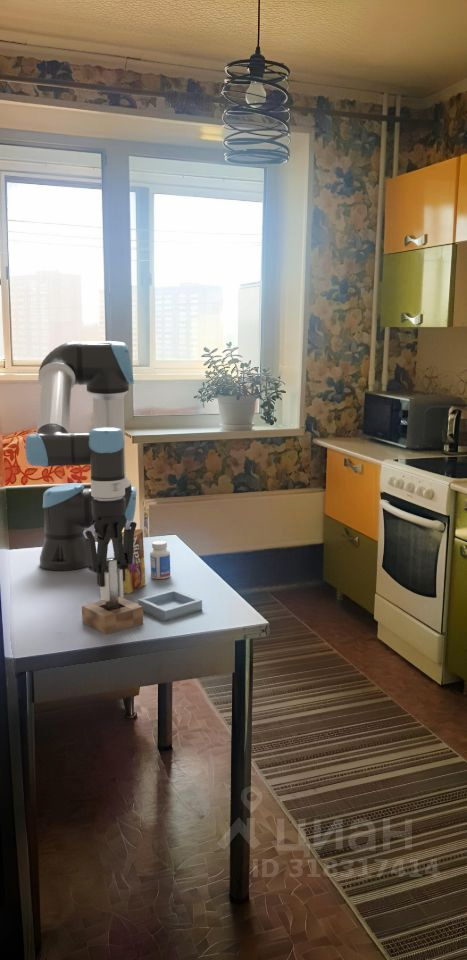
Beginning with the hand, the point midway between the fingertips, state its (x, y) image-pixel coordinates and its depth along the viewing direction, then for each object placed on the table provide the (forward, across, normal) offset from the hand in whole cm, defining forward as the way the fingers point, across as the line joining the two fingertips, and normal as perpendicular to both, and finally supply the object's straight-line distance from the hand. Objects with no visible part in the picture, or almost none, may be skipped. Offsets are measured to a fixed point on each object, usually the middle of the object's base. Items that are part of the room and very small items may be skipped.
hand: (111, 597), depth 169 cm
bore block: (+6, 0, 0) cm, 6 cm away
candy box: (+6, +17, +18) cm, 25 cm away
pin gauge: (+5, 0, 0) cm, 5 cm away
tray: (+6, +15, -2) cm, 16 cm away
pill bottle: (+7, +29, +21) cm, 36 cm away
